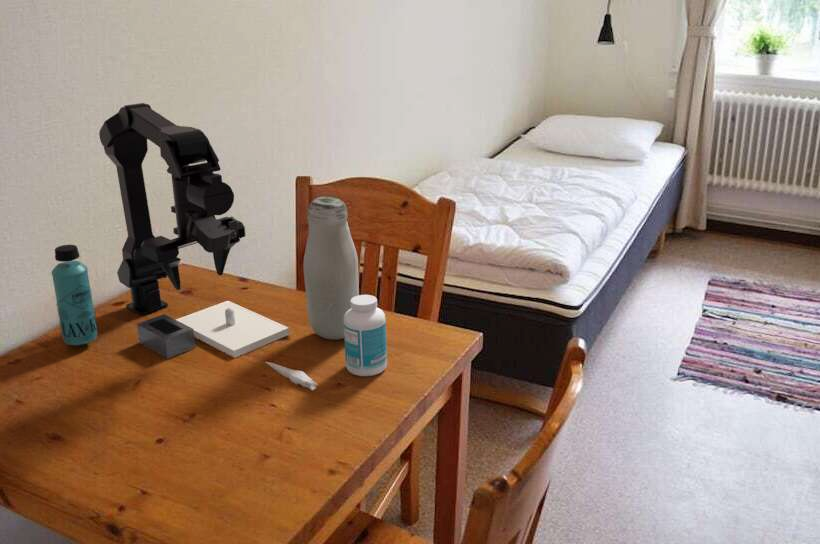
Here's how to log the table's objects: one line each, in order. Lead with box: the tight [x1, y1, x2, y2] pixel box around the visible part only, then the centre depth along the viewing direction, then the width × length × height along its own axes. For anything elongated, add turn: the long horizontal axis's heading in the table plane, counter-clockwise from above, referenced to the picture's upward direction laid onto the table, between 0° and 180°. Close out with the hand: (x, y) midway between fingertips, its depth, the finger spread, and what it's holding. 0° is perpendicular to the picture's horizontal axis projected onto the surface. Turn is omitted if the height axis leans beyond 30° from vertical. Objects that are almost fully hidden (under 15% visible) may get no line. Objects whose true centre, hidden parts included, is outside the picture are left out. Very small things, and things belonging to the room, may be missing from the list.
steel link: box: [136, 313, 196, 360], centre depth 154 cm, size 10×6×4 cm, turn 48°
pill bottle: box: [343, 294, 388, 377], centre depth 144 cm, size 8×7×14 cm
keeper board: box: [175, 300, 290, 359], centre depth 160 cm, size 20×13×5 cm, turn 48°
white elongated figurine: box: [265, 361, 318, 391], centre depth 143 cm, size 15×3×2 cm, turn 45°
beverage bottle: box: [51, 244, 99, 346], centre depth 152 cm, size 6×7×20 cm
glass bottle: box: [303, 196, 360, 341], centre depth 153 cm, size 10×10×28 cm
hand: (199, 282), depth 150 cm, fingers open, 9 cm apart
